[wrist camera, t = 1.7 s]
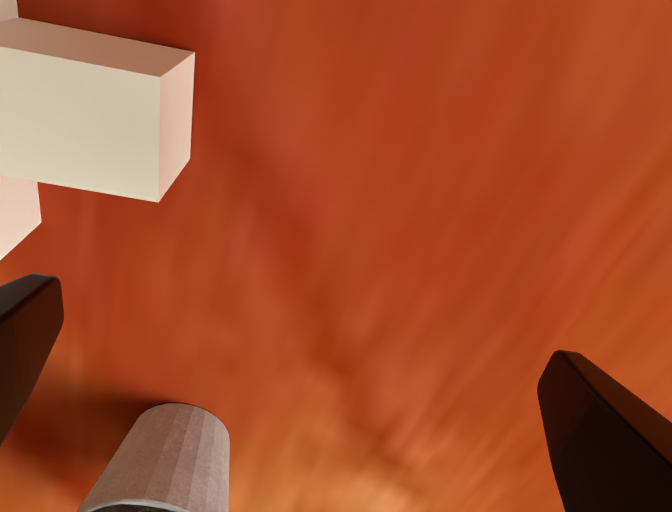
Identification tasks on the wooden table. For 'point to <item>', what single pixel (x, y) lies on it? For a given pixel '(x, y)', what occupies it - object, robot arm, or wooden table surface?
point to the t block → (86, 116)
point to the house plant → (167, 465)
